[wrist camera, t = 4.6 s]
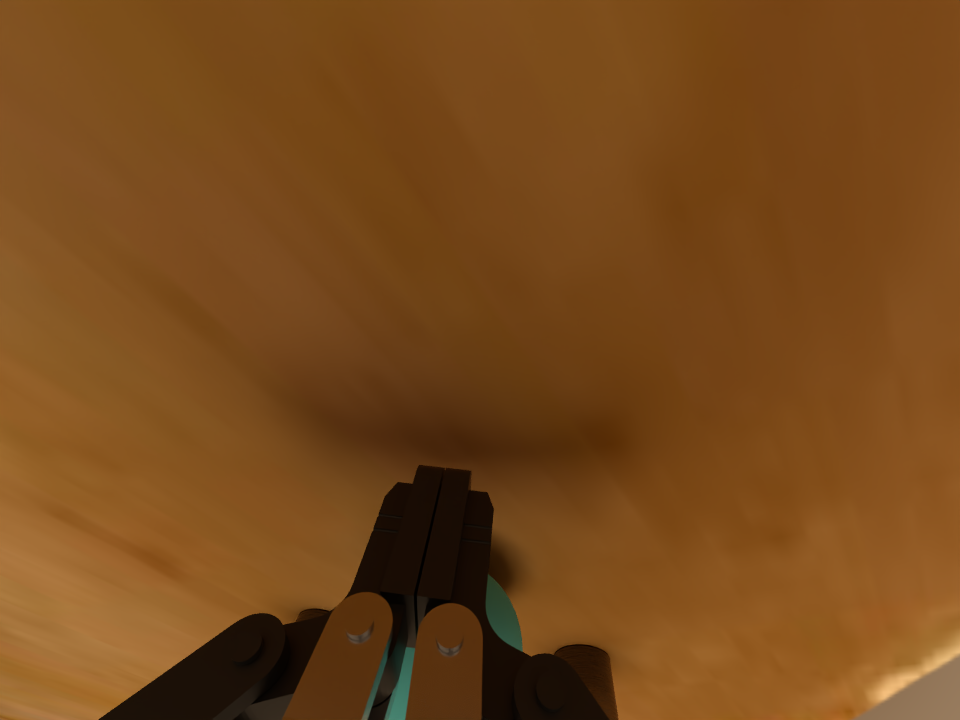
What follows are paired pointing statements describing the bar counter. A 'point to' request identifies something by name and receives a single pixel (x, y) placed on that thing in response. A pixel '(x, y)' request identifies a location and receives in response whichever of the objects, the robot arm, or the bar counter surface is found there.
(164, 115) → the bar counter surface
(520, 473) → the bar counter surface
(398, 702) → the ball
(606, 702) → the post
